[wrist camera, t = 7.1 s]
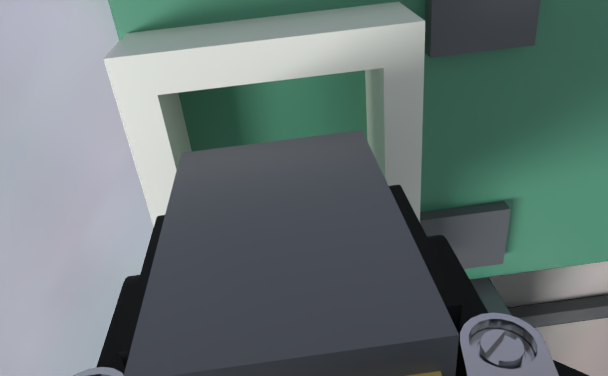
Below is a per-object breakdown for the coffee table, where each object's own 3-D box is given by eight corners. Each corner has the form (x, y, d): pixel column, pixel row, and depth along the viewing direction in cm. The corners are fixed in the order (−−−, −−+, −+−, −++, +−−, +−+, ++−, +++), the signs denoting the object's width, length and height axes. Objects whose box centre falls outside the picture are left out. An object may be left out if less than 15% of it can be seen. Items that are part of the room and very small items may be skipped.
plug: (361, 130, 11) (463, 345, 6) (369, 311, 14) (441, 566, 9) (181, 153, 11) (119, 393, 6) (224, 331, 14) (210, 602, 9)
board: (717, -98, 14) (834, -96, 11) (621, 245, 20) (681, 302, 17) (108, -29, 14) (70, -9, 11) (197, 301, 20) (188, 369, 17)
